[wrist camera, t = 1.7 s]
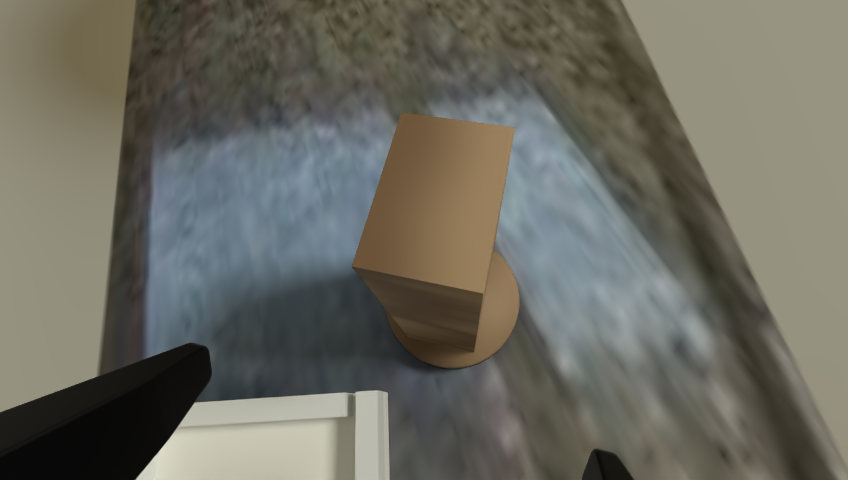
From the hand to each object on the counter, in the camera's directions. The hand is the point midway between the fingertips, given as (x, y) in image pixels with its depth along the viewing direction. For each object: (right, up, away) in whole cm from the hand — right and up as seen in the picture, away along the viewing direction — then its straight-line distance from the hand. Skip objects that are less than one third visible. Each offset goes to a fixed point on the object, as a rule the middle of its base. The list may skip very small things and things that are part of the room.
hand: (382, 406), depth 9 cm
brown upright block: (+2, 0, +13) cm, 13 cm away
